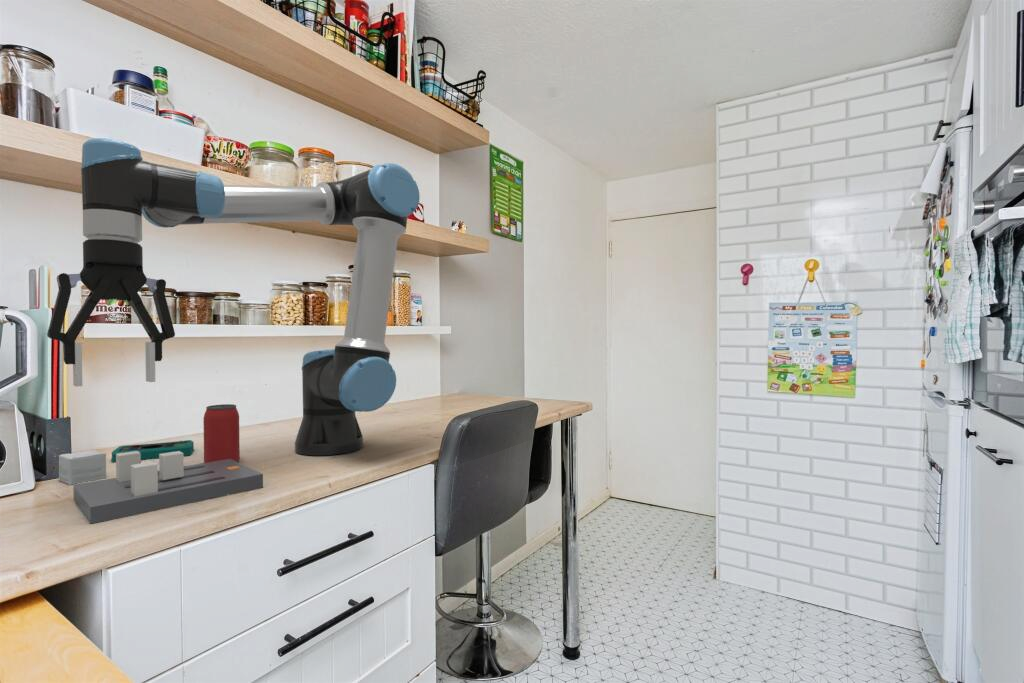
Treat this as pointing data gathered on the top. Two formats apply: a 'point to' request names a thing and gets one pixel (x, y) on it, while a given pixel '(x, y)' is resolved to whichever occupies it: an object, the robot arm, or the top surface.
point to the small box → (82, 467)
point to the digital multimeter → (156, 449)
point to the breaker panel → (159, 487)
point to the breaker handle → (171, 465)
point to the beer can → (221, 433)
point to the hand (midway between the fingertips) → (115, 383)
